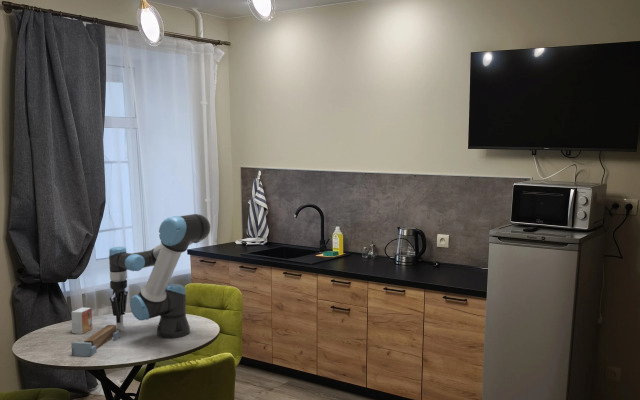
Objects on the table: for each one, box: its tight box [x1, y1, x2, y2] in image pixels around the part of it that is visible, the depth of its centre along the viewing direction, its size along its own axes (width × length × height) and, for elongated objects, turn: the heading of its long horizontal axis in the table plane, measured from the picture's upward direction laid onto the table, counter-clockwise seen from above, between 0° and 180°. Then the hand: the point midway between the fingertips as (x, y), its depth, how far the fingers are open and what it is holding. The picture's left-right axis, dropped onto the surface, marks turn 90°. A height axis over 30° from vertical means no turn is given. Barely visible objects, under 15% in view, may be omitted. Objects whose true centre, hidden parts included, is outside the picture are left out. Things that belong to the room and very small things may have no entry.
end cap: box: [70, 341, 97, 357], centre depth 236 cm, size 8×5×6 cm, turn 81°
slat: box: [83, 324, 117, 351], centre depth 250 cm, size 4×22×5 cm, turn 175°
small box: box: [71, 306, 93, 335], centre depth 266 cm, size 8×6×10 cm
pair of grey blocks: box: [112, 330, 120, 341], centre depth 256 cm, size 8×4×3 cm, turn 81°
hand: (119, 328), depth 266 cm, fingers closed
